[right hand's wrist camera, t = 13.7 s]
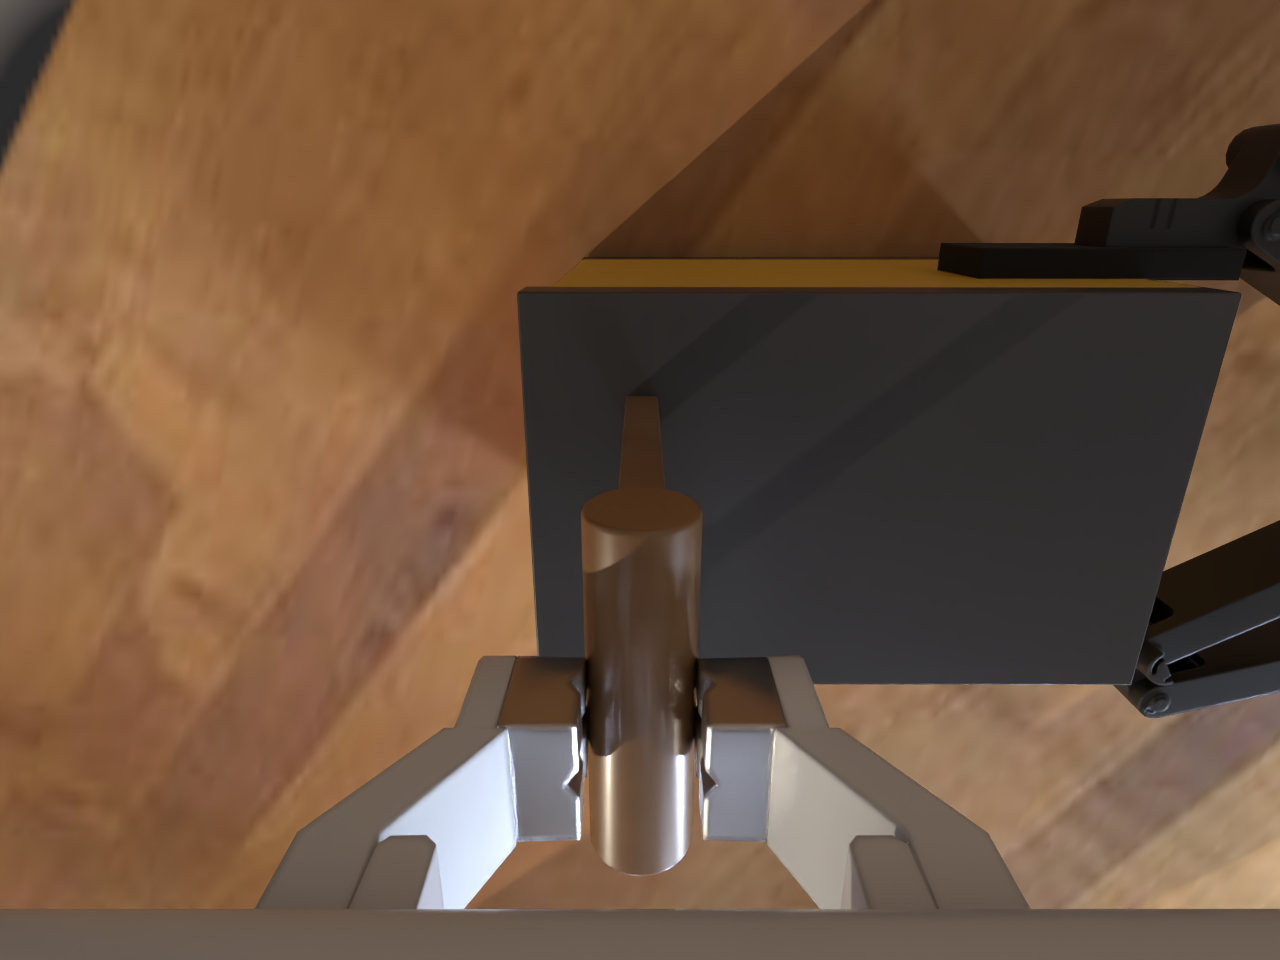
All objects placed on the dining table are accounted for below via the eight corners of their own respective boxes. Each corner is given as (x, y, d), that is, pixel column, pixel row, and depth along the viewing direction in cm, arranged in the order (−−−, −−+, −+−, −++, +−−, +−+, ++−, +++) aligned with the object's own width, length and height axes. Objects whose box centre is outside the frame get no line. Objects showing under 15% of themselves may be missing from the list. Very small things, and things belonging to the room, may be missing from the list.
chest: (590, 512, 29) (565, 658, 20) (583, 257, 26) (550, 285, 16) (954, 513, 29) (1105, 659, 20) (997, 257, 26) (1203, 286, 16)
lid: (544, 659, 20) (476, 973, 12) (524, 286, 16) (407, 364, 8) (1105, 660, 20) (1429, 976, 12) (1204, 287, 16) (1763, 366, 8)
